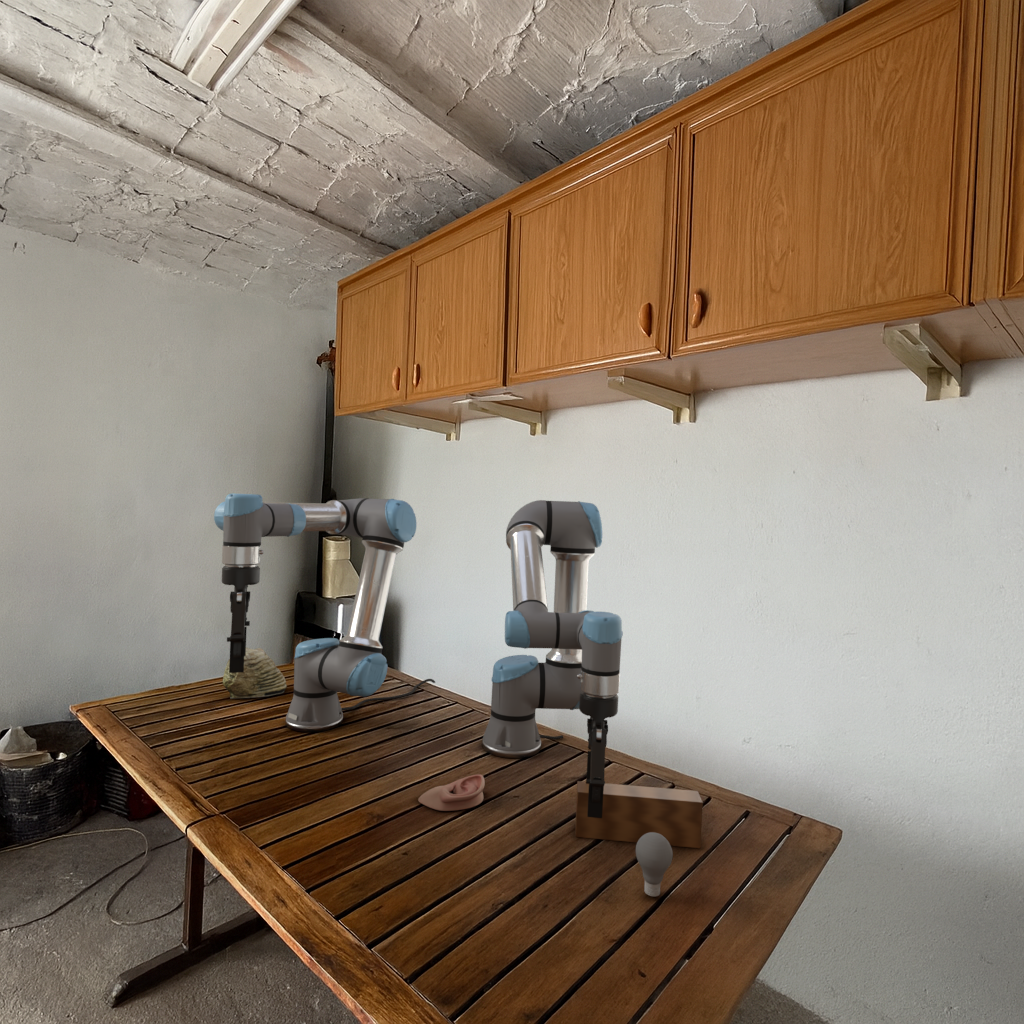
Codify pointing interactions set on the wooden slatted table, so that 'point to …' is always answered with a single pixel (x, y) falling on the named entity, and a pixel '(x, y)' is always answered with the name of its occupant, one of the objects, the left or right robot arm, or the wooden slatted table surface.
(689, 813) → the bar
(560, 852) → the wooden slatted table surface
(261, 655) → the fossil
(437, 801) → the anatomical model
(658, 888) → the light bulb
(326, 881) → the wooden slatted table surface
